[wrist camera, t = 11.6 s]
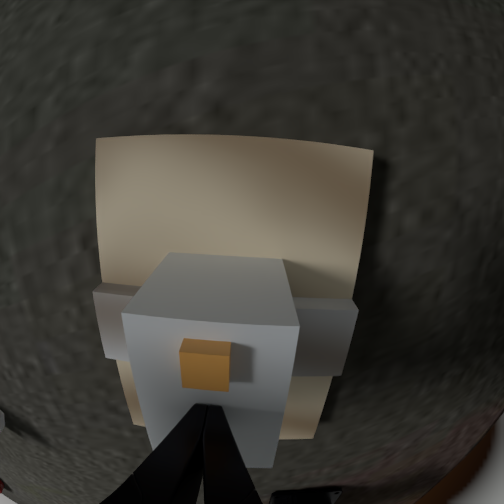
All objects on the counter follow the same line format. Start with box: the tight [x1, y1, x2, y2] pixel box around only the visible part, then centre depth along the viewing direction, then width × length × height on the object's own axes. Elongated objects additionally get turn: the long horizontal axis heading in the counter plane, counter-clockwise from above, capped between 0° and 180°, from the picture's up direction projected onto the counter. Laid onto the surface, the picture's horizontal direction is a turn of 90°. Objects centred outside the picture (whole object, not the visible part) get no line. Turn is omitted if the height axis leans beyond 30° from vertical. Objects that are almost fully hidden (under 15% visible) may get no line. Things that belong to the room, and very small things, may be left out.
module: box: [121, 252, 300, 468], centre depth 10 cm, size 7×4×6 cm
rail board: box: [93, 135, 373, 439], centre depth 13 cm, size 16×11×2 cm
